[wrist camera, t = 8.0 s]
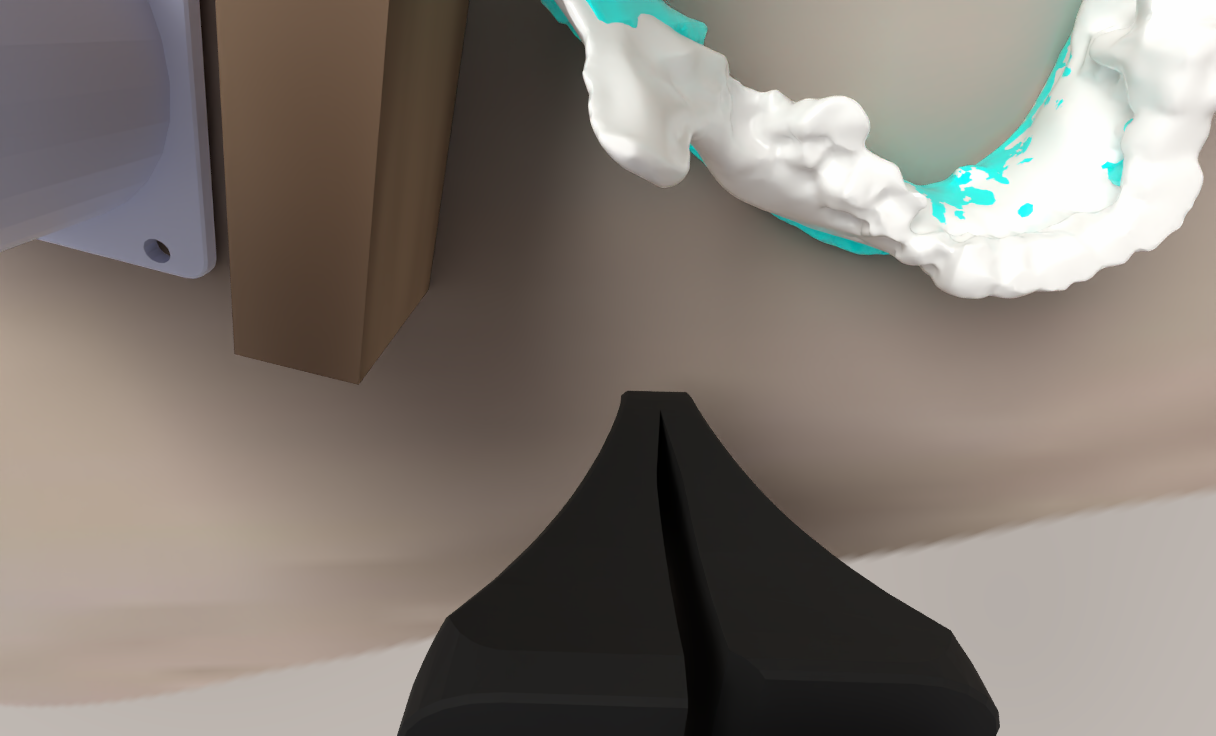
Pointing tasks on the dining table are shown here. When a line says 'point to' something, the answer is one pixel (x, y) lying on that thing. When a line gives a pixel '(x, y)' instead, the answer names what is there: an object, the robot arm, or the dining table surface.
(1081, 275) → the jawbone
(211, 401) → the dining table surface
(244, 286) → the cleat board
